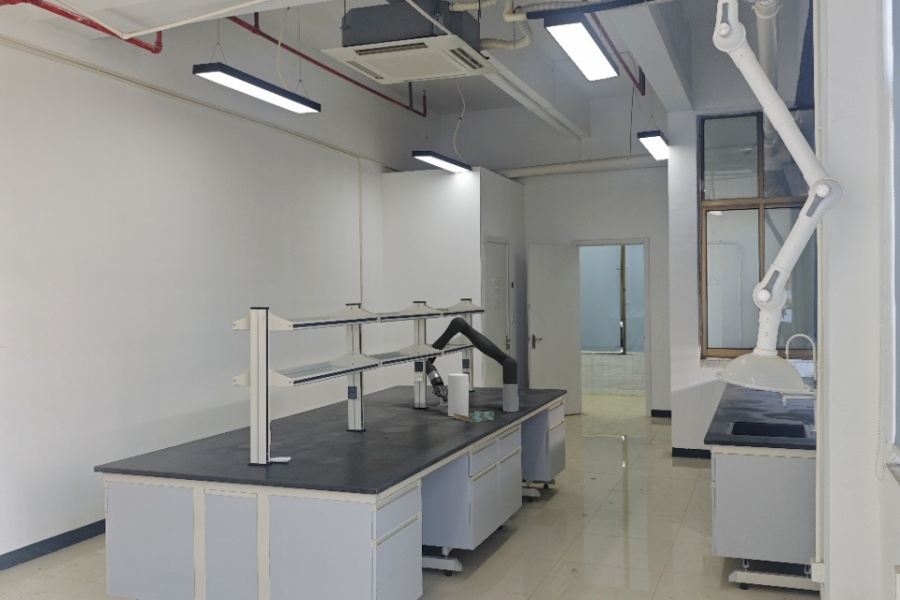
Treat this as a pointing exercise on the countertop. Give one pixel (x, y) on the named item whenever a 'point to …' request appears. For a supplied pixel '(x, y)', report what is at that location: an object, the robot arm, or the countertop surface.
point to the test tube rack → (442, 400)
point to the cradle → (476, 416)
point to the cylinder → (458, 394)
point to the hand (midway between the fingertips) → (446, 401)
